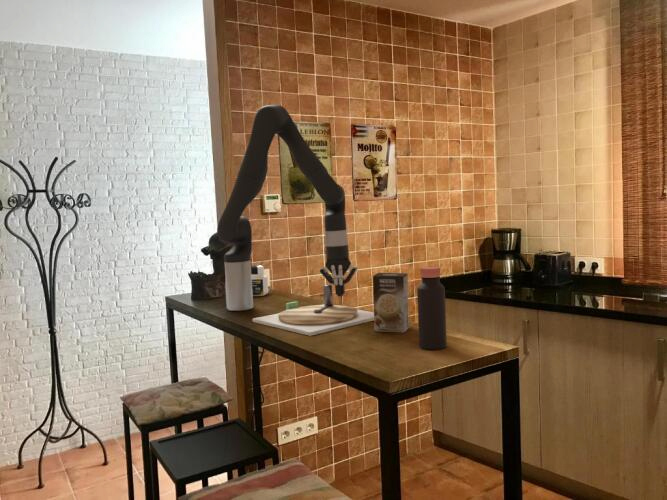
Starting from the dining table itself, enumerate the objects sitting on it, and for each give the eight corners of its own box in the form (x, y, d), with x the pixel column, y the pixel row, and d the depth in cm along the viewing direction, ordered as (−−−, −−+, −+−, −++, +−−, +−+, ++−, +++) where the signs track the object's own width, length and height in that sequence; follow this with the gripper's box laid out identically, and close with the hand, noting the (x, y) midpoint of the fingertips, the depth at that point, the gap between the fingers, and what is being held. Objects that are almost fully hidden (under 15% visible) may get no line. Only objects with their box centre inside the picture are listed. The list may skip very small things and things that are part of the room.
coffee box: (373, 331, 166) (371, 275, 164) (379, 326, 172) (376, 272, 170) (405, 332, 163) (403, 275, 161) (410, 327, 169) (408, 272, 167)
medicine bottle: (246, 296, 238) (244, 266, 237) (252, 293, 245) (250, 264, 244) (263, 295, 237) (261, 266, 236) (268, 292, 244) (266, 264, 243)
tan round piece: (344, 325, 170) (343, 298, 169) (265, 323, 178) (264, 297, 177) (366, 308, 194) (365, 284, 193) (295, 307, 201) (294, 284, 201)
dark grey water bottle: (428, 351, 142) (425, 270, 141) (414, 345, 149) (411, 267, 147) (452, 347, 145) (449, 267, 143) (436, 342, 151) (434, 265, 149)
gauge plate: (252, 321, 188) (251, 309, 187) (324, 306, 207) (324, 295, 207) (310, 335, 165) (309, 321, 164) (385, 317, 184) (384, 305, 184)
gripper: (358, 242, 195) (362, 293, 196) (321, 244, 199) (324, 294, 200) (353, 244, 188) (356, 297, 189) (314, 246, 191) (318, 298, 193)
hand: (340, 296), depth 195 cm, fingers closed
